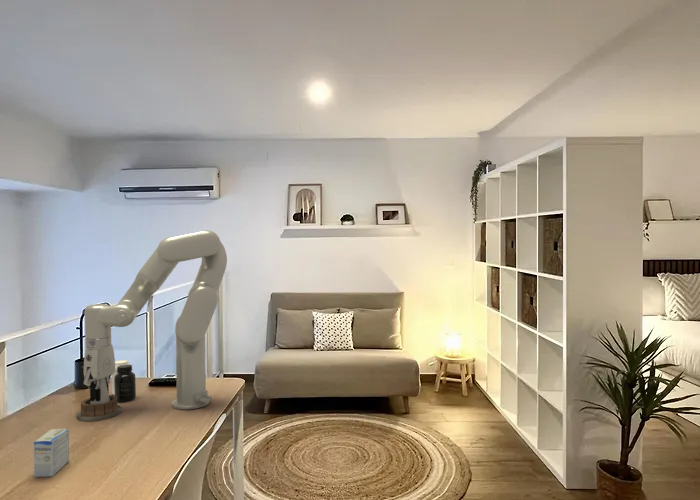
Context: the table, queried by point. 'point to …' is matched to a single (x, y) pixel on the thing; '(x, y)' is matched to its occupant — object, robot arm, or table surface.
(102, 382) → the salt shaker
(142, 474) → the table surface
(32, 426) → the table surface
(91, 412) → the walnut sleeve
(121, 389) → the supplement bottle
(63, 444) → the medicine box
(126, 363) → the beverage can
